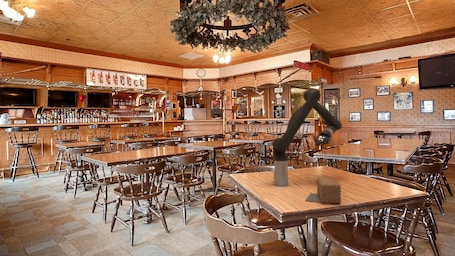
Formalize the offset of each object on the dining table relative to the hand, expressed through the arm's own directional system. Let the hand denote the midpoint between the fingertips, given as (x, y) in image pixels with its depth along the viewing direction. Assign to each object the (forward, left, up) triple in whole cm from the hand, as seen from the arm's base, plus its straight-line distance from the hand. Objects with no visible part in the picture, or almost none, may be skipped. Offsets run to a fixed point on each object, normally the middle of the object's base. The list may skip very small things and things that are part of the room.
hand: (317, 144), depth 180 cm
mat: (+6, -27, -28) cm, 40 cm away
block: (+7, -17, -23) cm, 29 cm away
